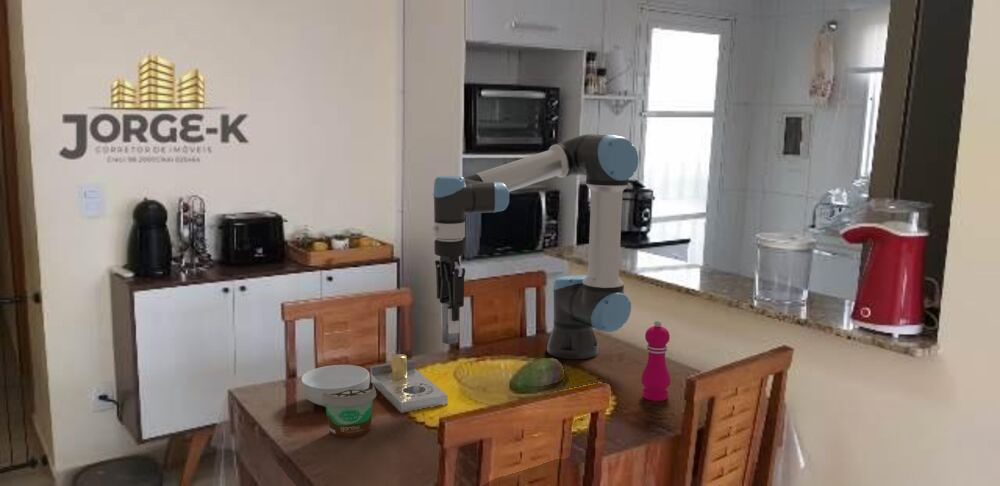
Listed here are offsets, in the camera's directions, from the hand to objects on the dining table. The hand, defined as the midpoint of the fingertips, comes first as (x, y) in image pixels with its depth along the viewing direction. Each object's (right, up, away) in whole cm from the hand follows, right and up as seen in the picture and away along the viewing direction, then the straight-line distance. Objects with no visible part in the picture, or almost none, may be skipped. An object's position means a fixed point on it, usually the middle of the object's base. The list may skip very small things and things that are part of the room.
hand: (450, 330), depth 201 cm
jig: (-11, -17, +4) cm, 20 cm away
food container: (-20, -21, -22) cm, 37 cm away
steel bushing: (0, -3, 0) cm, 3 cm away
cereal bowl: (-28, -18, -2) cm, 33 cm away
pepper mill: (+52, -17, +1) cm, 55 cm away
